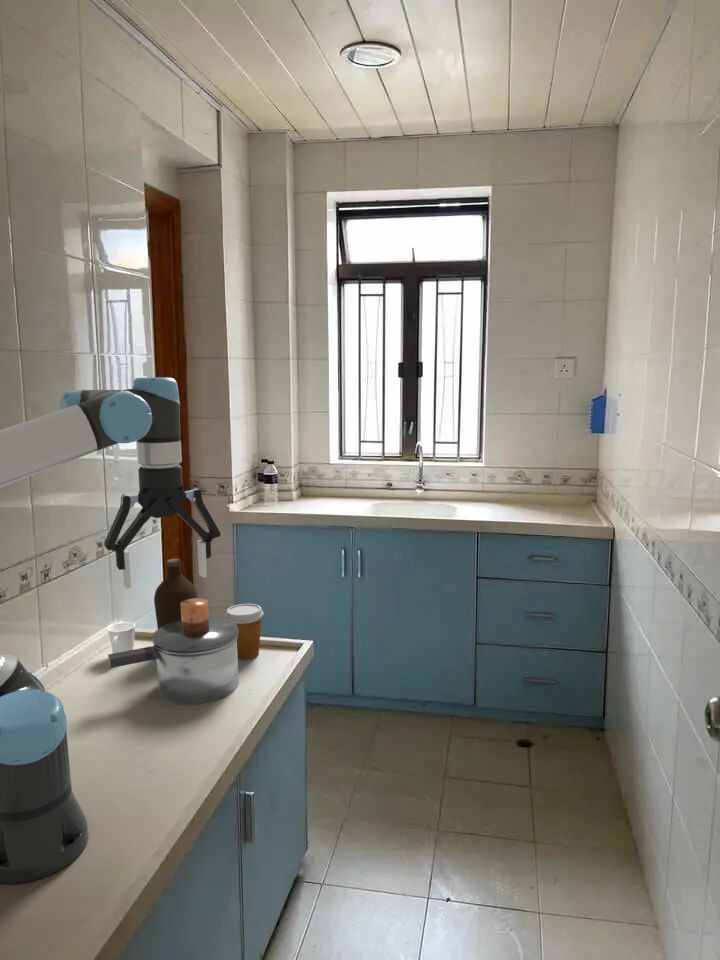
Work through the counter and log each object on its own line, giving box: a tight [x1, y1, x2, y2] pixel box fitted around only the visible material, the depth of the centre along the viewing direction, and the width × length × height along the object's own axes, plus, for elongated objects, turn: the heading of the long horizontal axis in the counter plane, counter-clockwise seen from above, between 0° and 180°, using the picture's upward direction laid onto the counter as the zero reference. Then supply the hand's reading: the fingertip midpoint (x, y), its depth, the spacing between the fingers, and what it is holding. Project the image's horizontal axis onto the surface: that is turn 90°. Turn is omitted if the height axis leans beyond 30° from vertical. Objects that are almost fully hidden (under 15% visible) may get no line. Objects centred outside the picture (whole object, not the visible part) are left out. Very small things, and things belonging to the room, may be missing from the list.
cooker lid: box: [152, 597, 238, 653], centre depth 161 cm, size 19×19×8 cm
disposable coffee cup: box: [224, 603, 264, 660], centre depth 180 cm, size 10×10×12 cm
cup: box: [107, 621, 136, 654], centre depth 179 cm, size 7×10×8 cm
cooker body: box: [107, 636, 240, 705], centre depth 160 cm, size 28×19×12 cm, turn 116°
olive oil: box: [153, 558, 199, 630], centre depth 179 cm, size 11×11×25 cm
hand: (166, 581), depth 129 cm, fingers open, 13 cm apart
